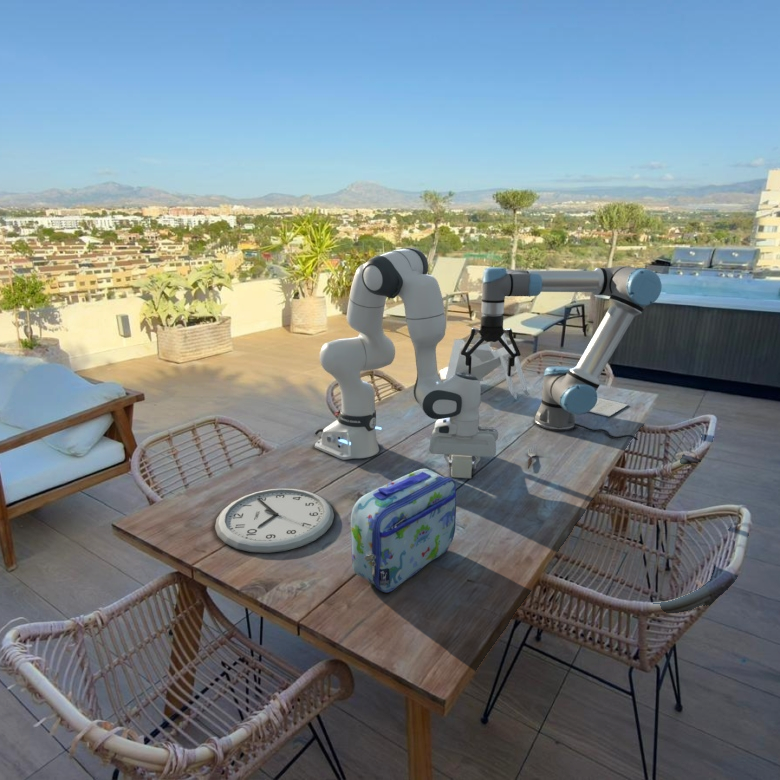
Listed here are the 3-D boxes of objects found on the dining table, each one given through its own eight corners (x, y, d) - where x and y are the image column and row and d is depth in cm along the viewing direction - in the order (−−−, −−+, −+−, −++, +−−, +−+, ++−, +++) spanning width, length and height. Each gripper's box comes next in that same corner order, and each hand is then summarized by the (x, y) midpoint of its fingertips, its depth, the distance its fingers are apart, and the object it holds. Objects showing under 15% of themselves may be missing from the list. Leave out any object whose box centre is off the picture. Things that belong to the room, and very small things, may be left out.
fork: (523, 469, 166) (524, 463, 165) (529, 450, 180) (529, 445, 179) (532, 470, 165) (532, 464, 164) (536, 451, 179) (537, 446, 179)
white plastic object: (461, 429, 252) (437, 405, 227) (444, 352, 274) (420, 323, 250) (535, 404, 240) (518, 377, 215) (510, 326, 262) (492, 293, 237)
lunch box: (379, 605, 105) (380, 513, 99) (344, 580, 112) (343, 493, 106) (459, 552, 123) (464, 471, 116) (425, 533, 130) (428, 456, 124)
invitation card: (608, 416, 214) (573, 407, 224) (608, 416, 214) (573, 408, 224) (628, 404, 229) (594, 396, 238) (628, 405, 229) (594, 397, 238)
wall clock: (332, 544, 122) (200, 548, 120) (332, 550, 123) (201, 555, 120) (334, 484, 151) (228, 486, 148) (334, 489, 151) (228, 491, 149)
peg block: (468, 447, 182) (469, 431, 180) (471, 478, 159) (472, 460, 158) (451, 446, 183) (452, 430, 181) (451, 477, 160) (452, 459, 158)
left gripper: (498, 423, 160) (494, 465, 164) (431, 420, 162) (429, 460, 166) (499, 431, 154) (496, 474, 158) (430, 427, 156) (428, 469, 160)
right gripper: (528, 313, 179) (523, 372, 185) (454, 312, 181) (453, 371, 188) (531, 316, 172) (527, 378, 178) (455, 315, 174) (453, 377, 180)
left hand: (461, 467), depth 162 cm, fingers closed on peg block, 6 cm apart
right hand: (489, 375), depth 183 cm, fingers open, 13 cm apart
